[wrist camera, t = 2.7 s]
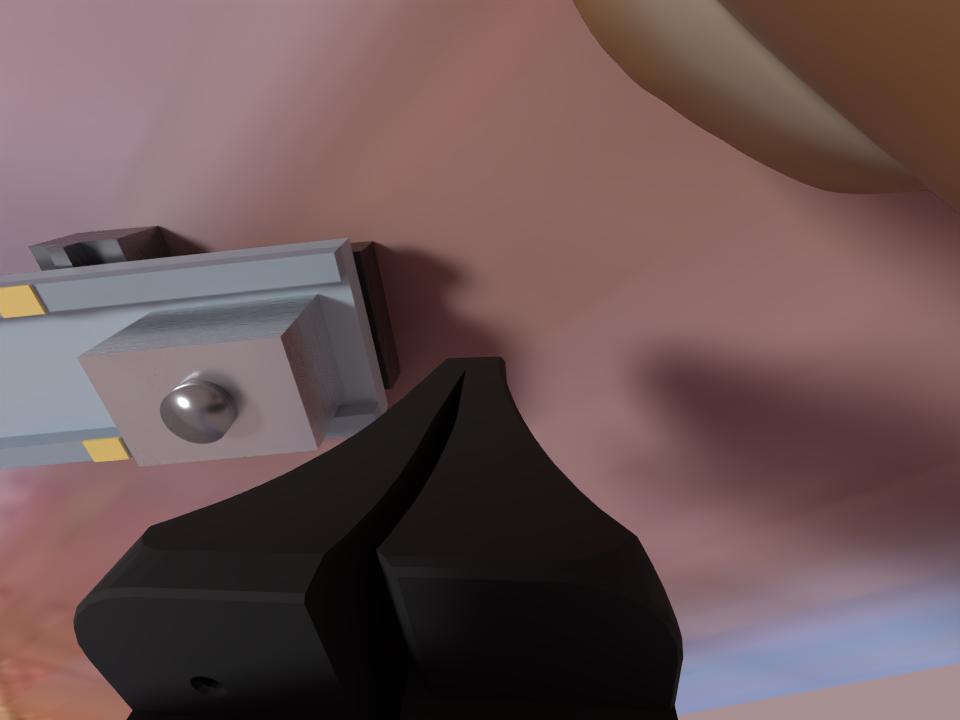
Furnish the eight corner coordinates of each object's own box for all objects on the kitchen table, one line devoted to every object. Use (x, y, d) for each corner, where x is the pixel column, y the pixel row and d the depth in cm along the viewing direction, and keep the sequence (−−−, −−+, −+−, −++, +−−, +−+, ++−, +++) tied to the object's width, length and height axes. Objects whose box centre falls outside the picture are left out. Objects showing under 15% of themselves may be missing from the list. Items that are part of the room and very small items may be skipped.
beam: (388, 405, 17) (379, 435, 15) (-89, 450, 17) (-145, 484, 16) (348, 236, 14) (332, 252, 12) (-218, 298, 15) (-302, 320, 13)
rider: (345, 391, 15) (312, 462, 12) (196, 406, 15) (127, 479, 12) (317, 293, 14) (272, 345, 11) (152, 310, 14) (60, 367, 11)
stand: (405, 396, 18) (388, 434, 16) (14, 407, 21) (-45, 441, 19) (365, 207, 15) (337, 223, 13) (-95, 248, 18) (-181, 268, 15)
